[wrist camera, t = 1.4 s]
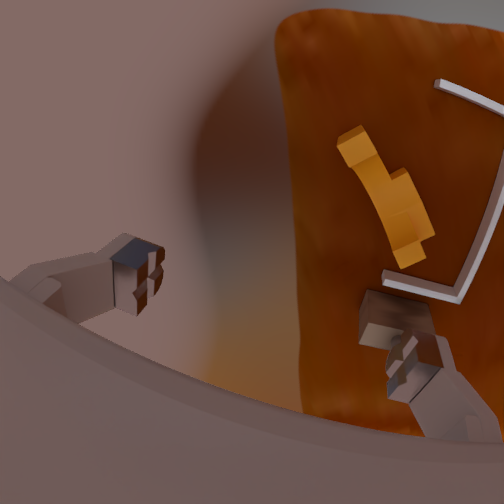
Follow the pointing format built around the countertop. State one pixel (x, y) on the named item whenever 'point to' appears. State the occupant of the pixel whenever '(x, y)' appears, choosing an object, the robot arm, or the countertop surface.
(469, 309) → the countertop surface
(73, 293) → the robot arm
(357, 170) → the pipe clamp
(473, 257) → the grey staple-shaped wire
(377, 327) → the block
